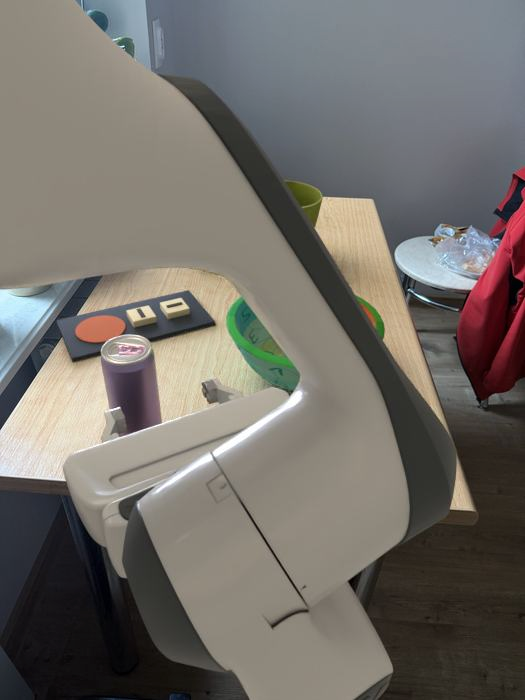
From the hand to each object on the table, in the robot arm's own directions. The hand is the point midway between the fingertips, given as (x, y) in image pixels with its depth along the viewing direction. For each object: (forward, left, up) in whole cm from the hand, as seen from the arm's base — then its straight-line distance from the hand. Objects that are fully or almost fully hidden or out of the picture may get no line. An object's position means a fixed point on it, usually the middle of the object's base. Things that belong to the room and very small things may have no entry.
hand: (162, 398), depth 50 cm
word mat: (+8, +39, -17) cm, 43 cm away
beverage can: (0, +12, -17) cm, 21 cm away
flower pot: (+40, +46, -17) cm, 63 cm away
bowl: (+26, +15, -17) cm, 34 cm away
